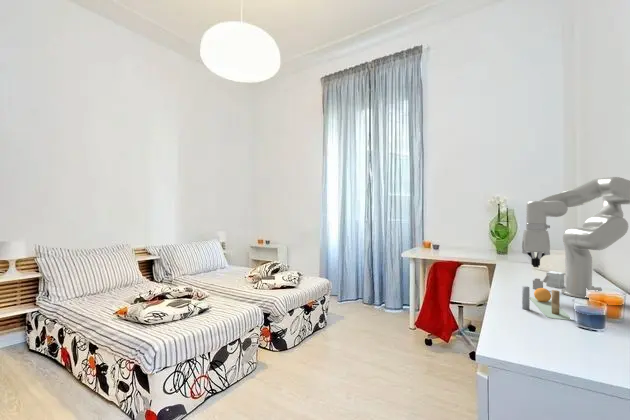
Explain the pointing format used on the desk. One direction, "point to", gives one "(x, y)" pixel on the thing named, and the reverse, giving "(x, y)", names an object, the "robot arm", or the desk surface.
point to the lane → (549, 309)
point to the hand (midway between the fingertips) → (535, 266)
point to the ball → (542, 295)
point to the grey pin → (525, 298)
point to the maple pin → (555, 302)
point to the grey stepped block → (539, 282)
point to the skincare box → (555, 279)
